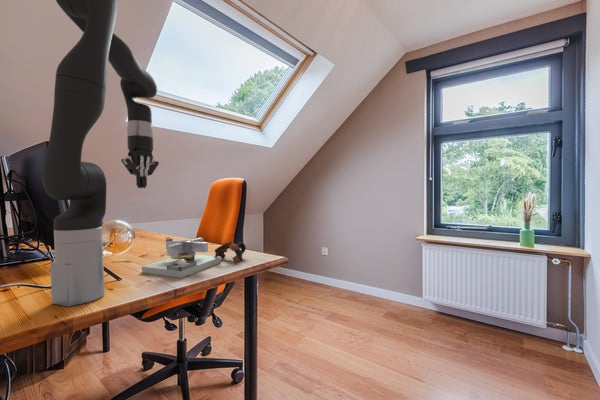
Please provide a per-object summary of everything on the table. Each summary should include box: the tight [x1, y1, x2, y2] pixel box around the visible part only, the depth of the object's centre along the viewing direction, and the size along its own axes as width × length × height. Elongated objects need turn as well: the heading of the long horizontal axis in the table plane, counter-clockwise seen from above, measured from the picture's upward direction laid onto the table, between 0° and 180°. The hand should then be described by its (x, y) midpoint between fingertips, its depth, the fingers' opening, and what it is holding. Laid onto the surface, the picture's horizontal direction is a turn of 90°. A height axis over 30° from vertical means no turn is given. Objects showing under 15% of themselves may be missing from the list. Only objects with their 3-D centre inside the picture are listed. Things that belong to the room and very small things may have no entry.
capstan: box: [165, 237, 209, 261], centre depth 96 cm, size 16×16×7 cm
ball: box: [177, 259, 186, 266], centre depth 89 cm, size 3×3×3 cm
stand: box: [141, 254, 221, 279], centre depth 96 cm, size 19×16×3 cm
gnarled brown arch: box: [214, 240, 247, 264], centre depth 107 cm, size 12×10×8 cm
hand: (141, 187), depth 96 cm, fingers closed
